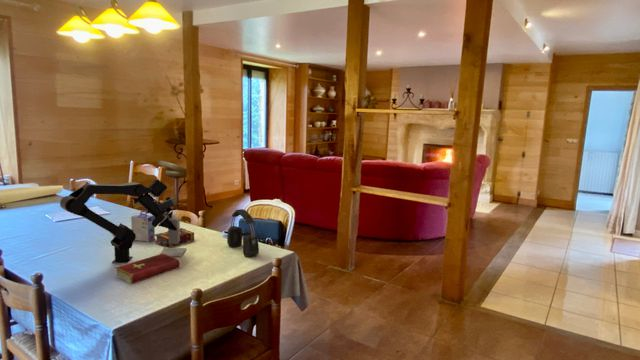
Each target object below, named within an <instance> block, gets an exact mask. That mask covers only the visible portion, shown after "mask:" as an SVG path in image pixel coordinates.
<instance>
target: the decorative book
mask: <svg viewBox="0 0 640 360" xmlns="http://www.w3.org/2000/svg"><path fill="white" fill-rule="evenodd" d="M155 237H156V240H155V241H154V244H156V245H157V244H158V245H162V246H163V247H164V246H165V247H166V248H171V247H176V246H179V245H180V244H181V245H182V244H185V243H186V244H187V243H190V241H194V240H195V232H193V231H190V230H187V229H185V228H183V227H180V241H179V243H178V244H169V237H168V230H167V231H166V232H160V233H155Z"/></svg>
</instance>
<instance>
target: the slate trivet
mask: <svg viewBox="0 0 640 360" xmlns="http://www.w3.org/2000/svg"><path fill="white" fill-rule="evenodd" d="M186 251H187V247H164V248H163V249H162V250H161V251H160V253H159V254H162V253H164V254H167V255H169V256H172V257H174V258H182V257H183V256H184V254H185V252H186Z"/></svg>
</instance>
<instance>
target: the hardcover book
mask: <svg viewBox="0 0 640 360" xmlns="http://www.w3.org/2000/svg"><path fill="white" fill-rule="evenodd" d="M180 268H181V260H180V259H179V258H178V257H172V256H169V255H167V254H164V253H162V254H160V253H158V254H156V255H152V256H149V257H146V258H142V259H138V260H136V261H133V262H128V263H124V264H121V265H119V266H115V267H114V269H115V270H116V277H119V278H120V279H122V280H124V281H127V282H128V283H130V285H133V284H136V283H139V282H141V281H144V280H147V279H150V278H153V277H156V276H160V275H163V274H165V273H169V272H171V271H175V270H177V269H180Z"/></svg>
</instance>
